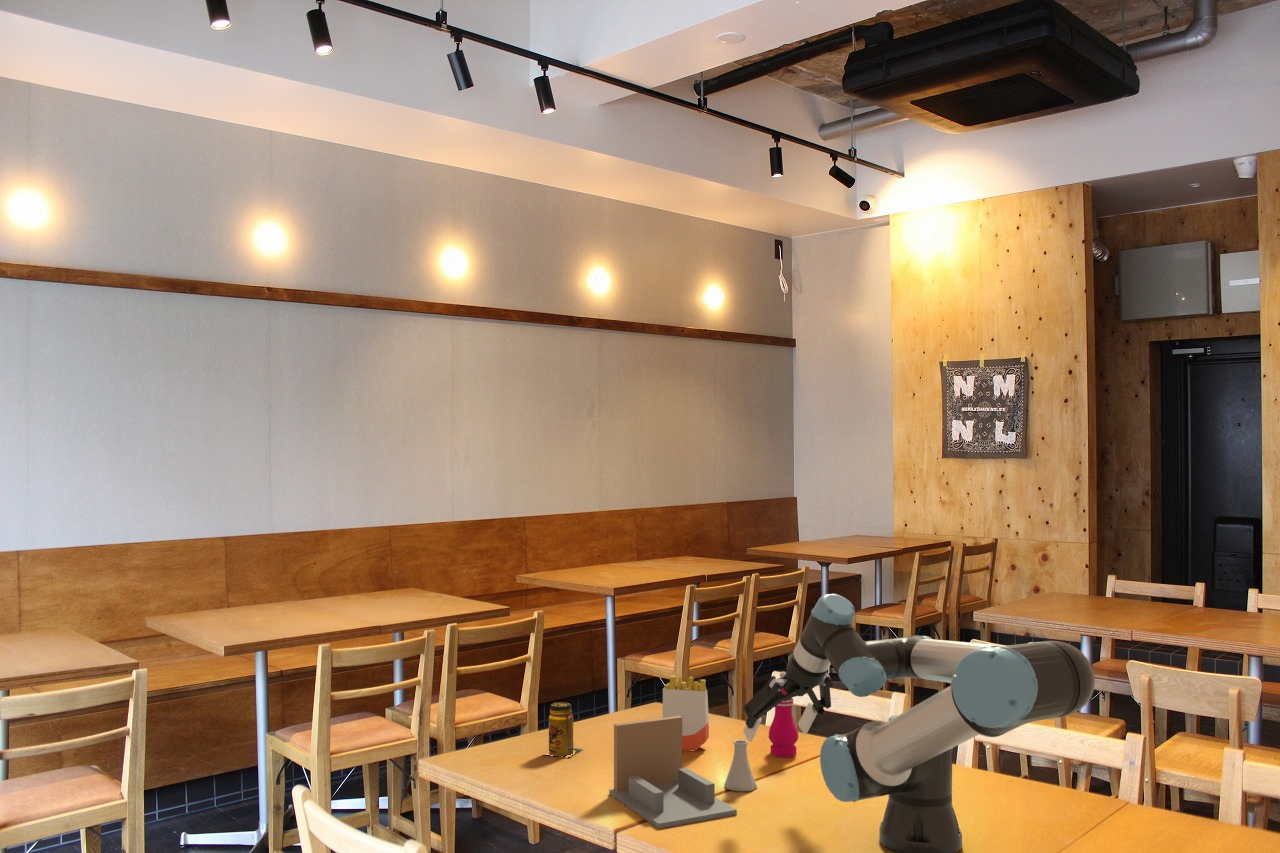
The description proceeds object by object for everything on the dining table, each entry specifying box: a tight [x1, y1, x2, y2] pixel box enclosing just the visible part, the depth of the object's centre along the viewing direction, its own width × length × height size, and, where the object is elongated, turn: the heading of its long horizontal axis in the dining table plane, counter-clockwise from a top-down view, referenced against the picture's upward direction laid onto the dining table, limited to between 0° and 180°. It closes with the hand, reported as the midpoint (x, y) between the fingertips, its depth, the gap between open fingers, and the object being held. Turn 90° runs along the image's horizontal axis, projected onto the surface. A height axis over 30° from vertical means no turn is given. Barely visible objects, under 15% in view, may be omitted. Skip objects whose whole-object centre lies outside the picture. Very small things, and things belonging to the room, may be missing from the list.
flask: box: [724, 739, 758, 792], centre depth 229 cm, size 7×7×10 cm
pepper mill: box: [768, 671, 799, 758], centre depth 255 cm, size 7×7×20 cm
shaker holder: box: [608, 716, 738, 830], centre depth 218 cm, size 23×18×15 cm
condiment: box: [548, 701, 584, 759], centre depth 256 cm, size 7×8×12 cm
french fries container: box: [662, 675, 710, 752], centre depth 260 cm, size 5×11×18 cm, turn 75°
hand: (775, 732), depth 217 cm, fingers open, 13 cm apart
